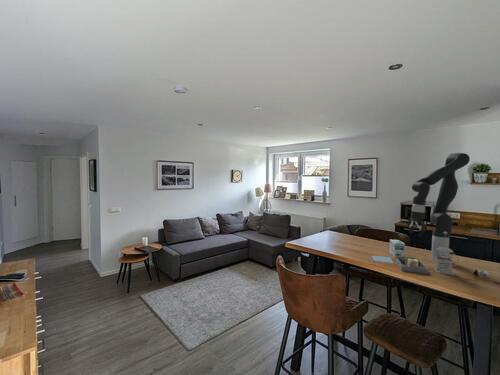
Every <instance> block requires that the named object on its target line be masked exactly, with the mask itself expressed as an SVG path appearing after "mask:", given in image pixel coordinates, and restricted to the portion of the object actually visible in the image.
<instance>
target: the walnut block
mask: <svg viewBox="0 0 500 375" xmlns="http://www.w3.org/2000/svg"><path fill="white" fill-rule="evenodd" d="M408 258H409V259H416V258H415V256H413V255H407V254H405V255H404V259H405V265H406V266H407V263H408Z"/></svg>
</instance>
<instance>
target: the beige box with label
mask: <svg viewBox="0 0 500 375" xmlns="http://www.w3.org/2000/svg"><path fill="white" fill-rule="evenodd" d="M417 260H418V259H416V258H415V259H409V258H408V263H407V266H412V267H418V261H417Z"/></svg>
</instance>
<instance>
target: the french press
mask: <svg viewBox="0 0 500 375" xmlns="http://www.w3.org/2000/svg"><path fill="white" fill-rule="evenodd" d="M443 233H444V234H445V235H446V234H447V232H443ZM436 250H438V251H441V252H444V255H437V257H436V261H435V268H434V271H435V272H437V273H440V274H444V275H451V276H454V275H455V274H454V273H453V267H456V266H457V265H458V264H459V262H460V259H459V257H458V255H457V254H455V253H454V250H452V249H451V248H446V247H445V246H444V247H439V248H436ZM445 252H446V253H450V254H451V255H450V256H445ZM453 256H455V257H456V258H457V260H458V261H457V262H456V263H454V264H453V259H452V257H453ZM443 259H446V260H448V261H446V260H443Z"/></svg>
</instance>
